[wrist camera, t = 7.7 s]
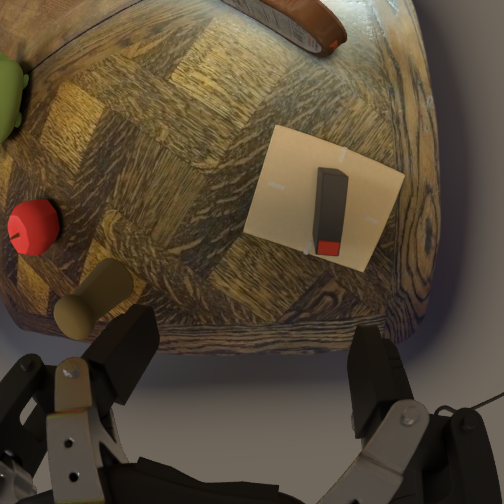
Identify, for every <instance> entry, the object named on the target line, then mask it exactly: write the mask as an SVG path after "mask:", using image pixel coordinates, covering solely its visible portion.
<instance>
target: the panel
mask: <svg viewBox="0 0 504 504" xmlns="http://www.w3.org/2000/svg"><path fill="white" fill-rule="evenodd" d="M318 167H324V168H334V169H339V170H340V171H342V172H343V173H345V174H346V175H347V176H348V177H349V180H348V190H347V199H346V208H345V216H344V224H343V231H342V238H341V245H340V252H339V256H326V255H316V254H315V248H314V242H313V235H312V231H313V221H314V211H315V199H316V187H317V174H318ZM404 177H405V175H404V174H402V173H400V172H398V171H396V170H394V169H392V168H390V167H388V166H385V165H383V164H381V163H379V162H377V161H374V160H372V159H370V158H368V157H365V156H363V155H360V154H358V153H356V152H353V151H351V150H348V149H347V147H344V146H343V147H341V146H338V145H336V144H333V143H330V142H328V141H325V140H322V139H319V138H317V137H314V136H311V135H308V134H305V133H302V132H299V131H296V130H293V129H290V128H287V127H283V126H280V125H277V124H276V126H275V129H274V132H273V135H272V138H271V142H270V145H269V148H268V151H267V155H266V158H265V161H264V164H263V168H262V171H261V174H260V177H259V181H258V184H257V187H256V190H255V194H254V197H253V200H252V204H251V207H250V210H249V214H248V217H247V220H246V224H245V227H244V230H243V232H245V233H248V234H251V235H254V236H257V237H260V238H263V239H266V240H269V241H272V242H275V243H278V244H281V245H284V246H287V247H290V248H293V249H296V250H299V251H302V252H304V254H305V255H308V254H311V255H314V256H317V257H320V258H323V259H326V260H329V261H332V262H335V263H338V264H341V265H343V266H346V267H349V268H352V269H355V270H358V271H361V272H364V270H365V268H366V266H367V264H368V262H369V259H370V257H371V255H372V253H373V251H374V249H375V247H376V245H377V242H378V240H379V238H380V236H381V234H382V231H383V229H384V227H385V225H386V222H387V220H388V218H389V215H390V213H391V210H392V208H393V206H394V203H395V201H396V198H397V196H398V193H399V190H400V188H401V185H402V183H403V180H404Z"/></svg>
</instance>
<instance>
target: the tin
mask: <svg viewBox="0 0 504 504" xmlns="http://www.w3.org/2000/svg"><path fill="white" fill-rule="evenodd" d="M221 1H223V2H225V3H227V4H228V5H230V6H232V7H234V8H236V9H237V10H239V11H241V12H243V13H245V14H246V15H248V16H250V17H252V18H253V19H255V20H257V21H258V22H260V23H262V24H263V25H265V26H267V27H268V28H270V29H271V30H273V31H275V32H276V33H278V34H279V35H281V36H282V37H284V38H285V39H287V40H288V41H290V42H292V43H293V44H295V45H296V46H298V47H299V48H301V49H303V50H305V51H306V52H308V53H310V54H312V55H315V56H318V57H326V56H329V55H330V54H331V53H333V52H334V51H335V50H336V49H337V48H338V47H339V46H340V45H341V44H343V43H345V42H346V41H347V33H346V30H345V29H344V27H343V25H342V23H341V22H340V21H339V19H338V18H337V17H336V16H335V15H334V14H333V12H332V11H331V10H330V9H329V8H327V7H326V6H325V5H324V4H323V3H322V2H321V1H319V0H221Z"/></svg>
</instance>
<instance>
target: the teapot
mask: <svg viewBox="0 0 504 504" xmlns="http://www.w3.org/2000/svg"><path fill="white" fill-rule="evenodd" d="M28 80H29V76H28V74H25V75H23V71H22V69H21V67H20V66H19V64H18V63H17V62H16V61H14V60H8V56H6V55H5V54H3V53H2V52H0V143H2V142H3V141H4V140H5V139H6V138H7V137H8V136H9V135H10V133H11V132H12V130H13V128H14V126H15V127H19V126H20V124H21V120H22V115H21V113H20V112H19V108H20V103H21V98H22V90H23V89H24V88H25V87H26V86H27V84H28Z"/></svg>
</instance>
